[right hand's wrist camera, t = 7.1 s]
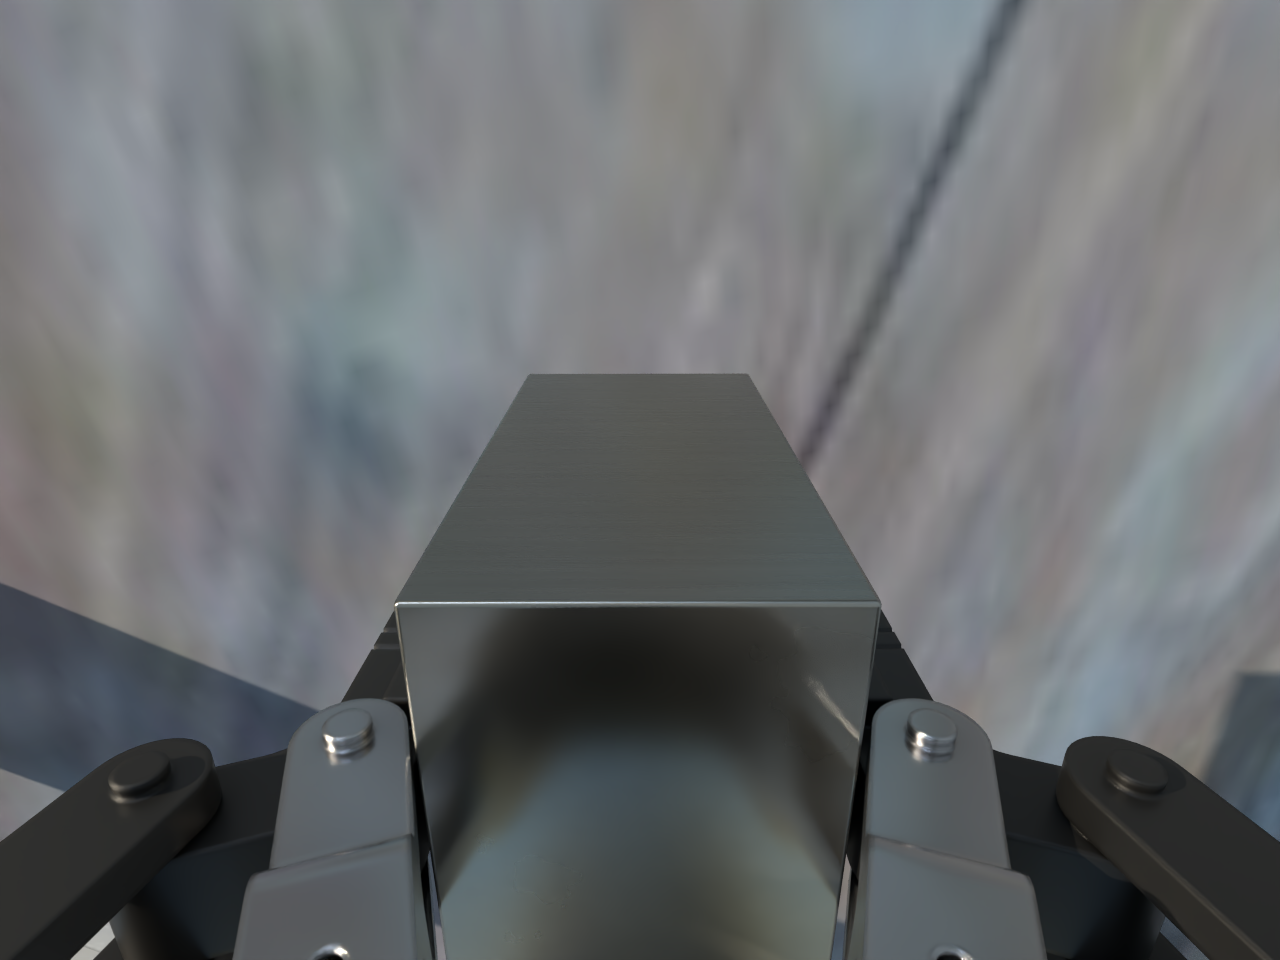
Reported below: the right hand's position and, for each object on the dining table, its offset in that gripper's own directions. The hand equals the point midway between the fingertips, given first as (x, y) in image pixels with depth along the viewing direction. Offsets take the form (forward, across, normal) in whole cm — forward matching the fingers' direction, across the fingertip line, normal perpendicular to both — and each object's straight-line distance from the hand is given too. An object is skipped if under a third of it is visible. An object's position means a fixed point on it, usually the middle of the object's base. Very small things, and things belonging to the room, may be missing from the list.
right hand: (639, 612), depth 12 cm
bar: (+5, 0, -8) cm, 10 cm away
